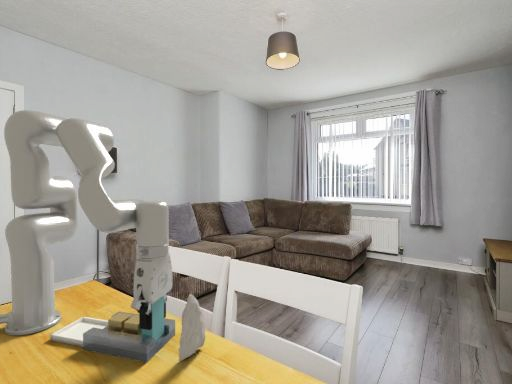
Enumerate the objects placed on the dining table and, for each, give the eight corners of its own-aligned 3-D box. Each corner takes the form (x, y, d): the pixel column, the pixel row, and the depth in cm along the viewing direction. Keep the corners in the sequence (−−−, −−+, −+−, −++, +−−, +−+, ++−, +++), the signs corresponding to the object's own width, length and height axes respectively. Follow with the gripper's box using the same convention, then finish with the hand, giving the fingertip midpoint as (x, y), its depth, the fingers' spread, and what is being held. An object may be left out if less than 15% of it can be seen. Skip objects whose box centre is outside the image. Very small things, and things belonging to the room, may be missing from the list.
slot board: (83, 349, 67) (82, 333, 67) (119, 325, 79) (119, 311, 79) (147, 362, 63) (147, 345, 63) (175, 334, 74) (175, 319, 74)
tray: (50, 340, 71) (50, 334, 71) (83, 321, 81) (83, 316, 81) (84, 347, 68) (84, 341, 68) (115, 326, 78) (114, 321, 78)
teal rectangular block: (141, 342, 67) (140, 299, 67) (154, 331, 72) (153, 290, 72) (152, 344, 66) (152, 300, 66) (165, 332, 71) (164, 291, 71)
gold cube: (124, 338, 69) (124, 322, 69) (135, 329, 73) (134, 314, 73) (137, 340, 68) (137, 324, 68) (148, 332, 72) (148, 316, 72)
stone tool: (184, 367, 61) (184, 301, 61) (174, 363, 63) (174, 298, 62) (209, 347, 69) (209, 288, 68) (199, 344, 70) (199, 285, 70)
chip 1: (108, 335, 70) (108, 319, 70) (119, 327, 74) (119, 312, 74) (121, 337, 69) (121, 321, 69) (132, 329, 73) (132, 314, 73)
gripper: (143, 261, 59) (144, 344, 60) (183, 244, 76) (183, 309, 76) (114, 258, 61) (115, 339, 62) (159, 242, 78) (160, 306, 78)
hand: (153, 322), depth 69 cm, fingers closed on teal rectangular block, 5 cm apart
